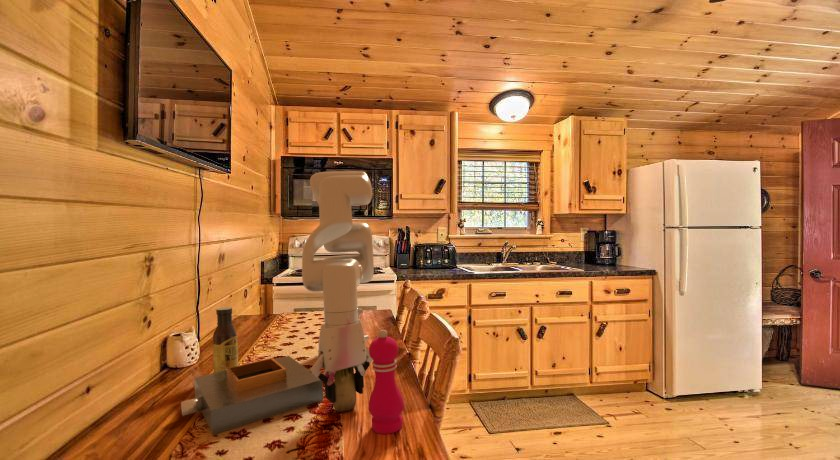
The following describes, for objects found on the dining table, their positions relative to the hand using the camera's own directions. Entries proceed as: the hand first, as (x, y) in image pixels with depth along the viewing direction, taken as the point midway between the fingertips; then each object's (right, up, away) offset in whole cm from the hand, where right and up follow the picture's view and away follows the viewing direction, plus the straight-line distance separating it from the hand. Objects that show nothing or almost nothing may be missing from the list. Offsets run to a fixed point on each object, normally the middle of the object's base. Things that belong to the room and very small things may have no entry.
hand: (345, 395), depth 92 cm
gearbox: (-25, -4, +7) cm, 26 cm away
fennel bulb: (0, -3, 0) cm, 3 cm away
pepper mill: (+10, -3, -9) cm, 14 cm away
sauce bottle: (-37, -5, +22) cm, 44 cm away
